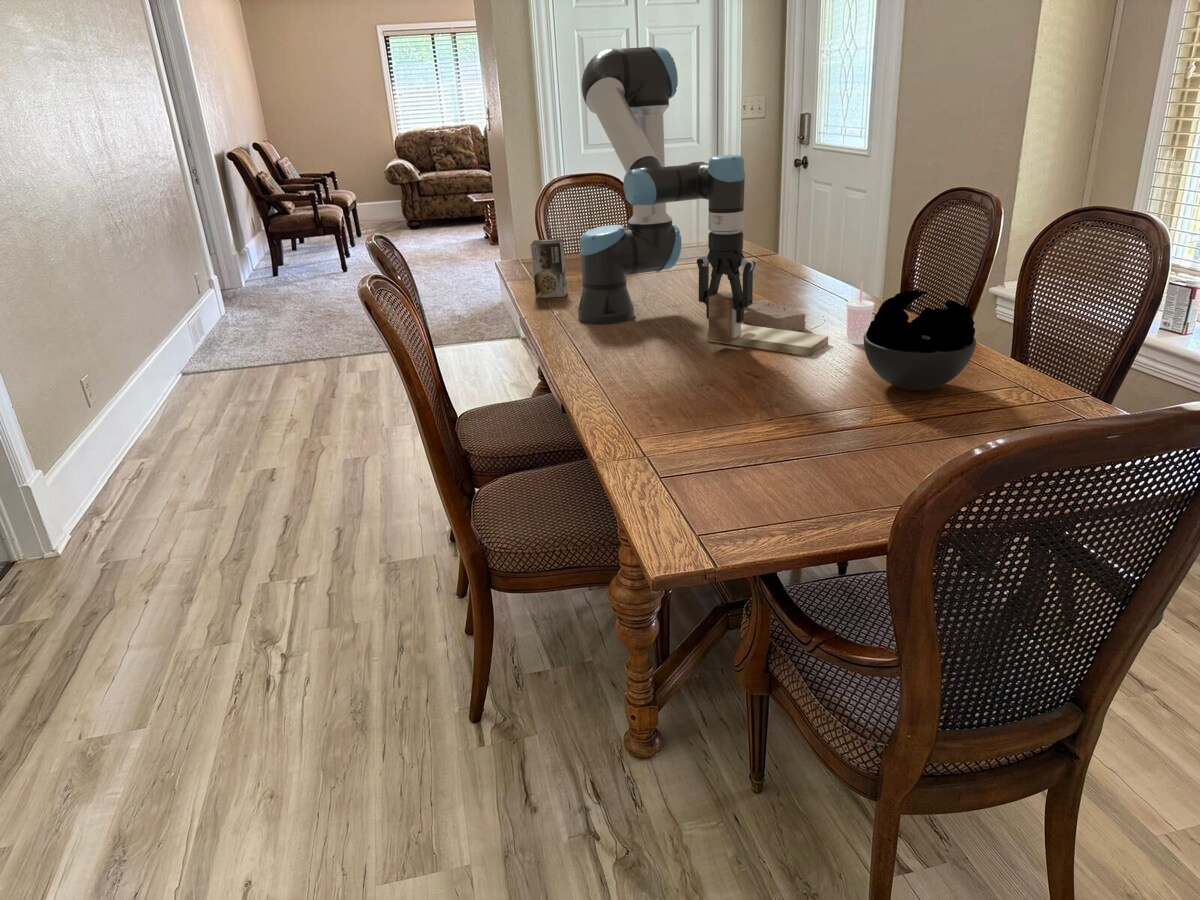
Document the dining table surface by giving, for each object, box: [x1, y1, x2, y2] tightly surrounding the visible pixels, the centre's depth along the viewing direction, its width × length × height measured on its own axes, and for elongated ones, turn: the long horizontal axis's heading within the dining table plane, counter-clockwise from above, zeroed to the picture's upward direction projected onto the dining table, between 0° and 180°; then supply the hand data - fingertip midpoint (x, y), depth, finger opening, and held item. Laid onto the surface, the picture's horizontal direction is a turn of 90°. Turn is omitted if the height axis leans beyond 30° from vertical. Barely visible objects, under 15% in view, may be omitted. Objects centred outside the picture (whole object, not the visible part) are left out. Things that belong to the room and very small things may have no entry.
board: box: [706, 323, 829, 357], centre depth 187 cm, size 26×10×2 cm, turn 53°
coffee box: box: [530, 238, 568, 299], centre depth 239 cm, size 9×6×16 cm
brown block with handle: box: [708, 290, 749, 343], centre depth 184 cm, size 5×13×10 cm, turn 143°
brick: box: [743, 299, 806, 332], centre depth 200 cm, size 17×8×5 cm, turn 28°
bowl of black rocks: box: [863, 289, 977, 391], centre depth 152 cm, size 20×20×19 cm
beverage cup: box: [845, 280, 875, 345], centre depth 182 cm, size 6×6×14 cm
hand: (724, 334), depth 184 cm, fingers closed on brown block with handle, 5 cm apart
